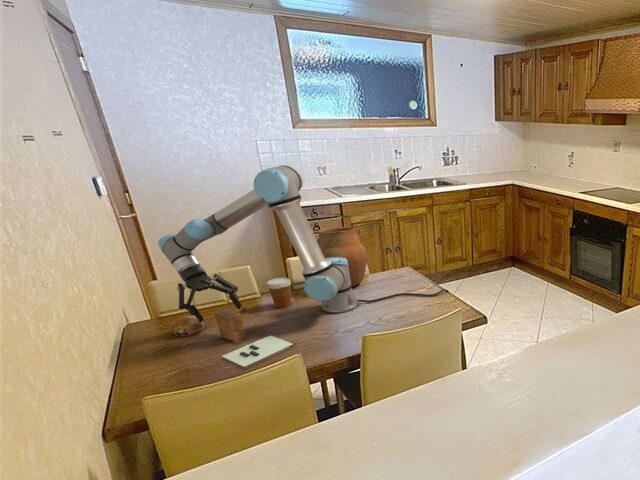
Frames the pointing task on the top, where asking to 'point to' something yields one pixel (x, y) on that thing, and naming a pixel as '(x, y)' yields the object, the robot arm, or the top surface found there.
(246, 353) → the smudge
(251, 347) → the smudge
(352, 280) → the pot
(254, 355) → the smudge
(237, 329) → the eraser
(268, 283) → the disposable coffee cup
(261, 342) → the wipe board
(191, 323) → the bread roll
